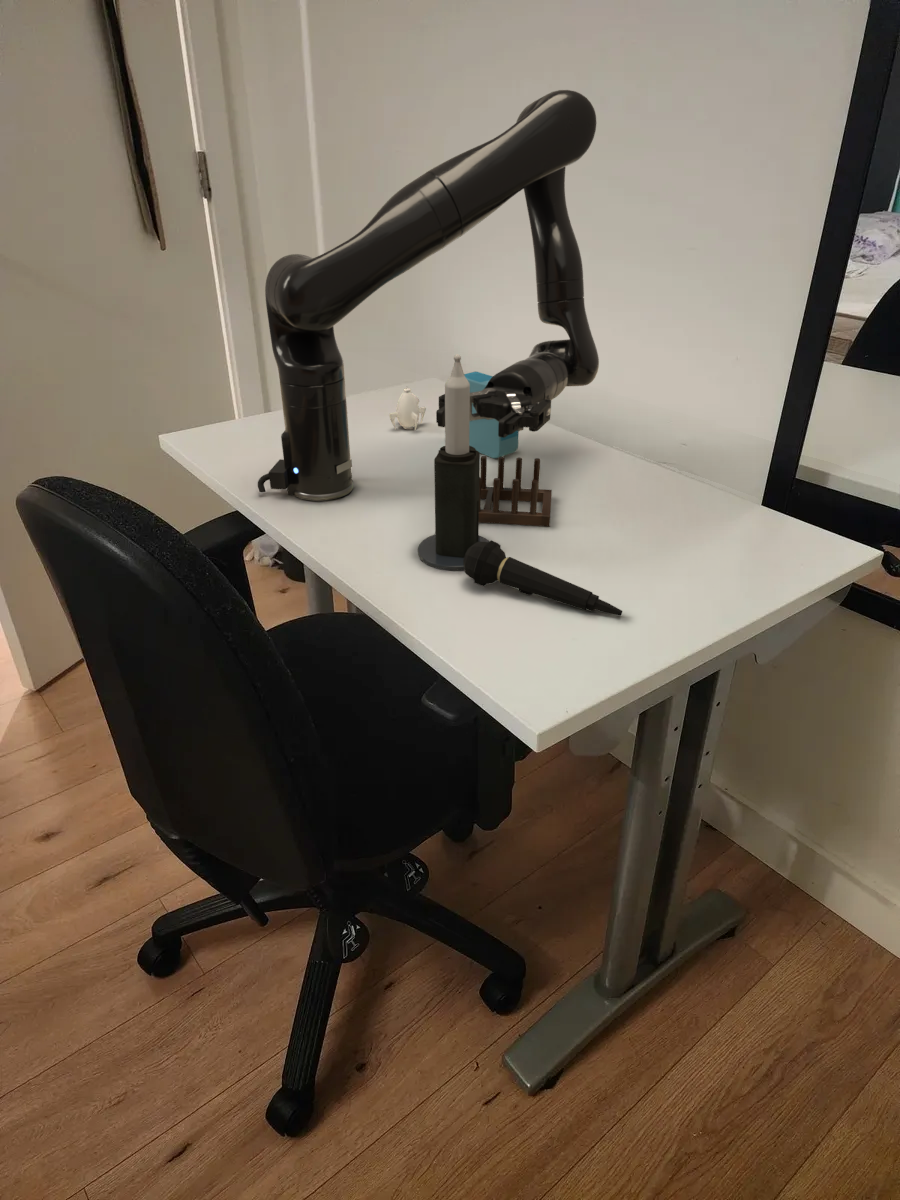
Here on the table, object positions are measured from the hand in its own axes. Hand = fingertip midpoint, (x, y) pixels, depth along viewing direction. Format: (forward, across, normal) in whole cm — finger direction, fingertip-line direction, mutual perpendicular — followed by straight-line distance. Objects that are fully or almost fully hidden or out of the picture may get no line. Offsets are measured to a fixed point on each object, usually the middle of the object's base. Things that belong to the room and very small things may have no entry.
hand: (470, 424), depth 100 cm
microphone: (+10, +14, +16) cm, 24 cm away
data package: (-33, -13, +16) cm, 39 cm away
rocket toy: (-36, -31, +16) cm, 50 cm away
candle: (+4, 0, +16) cm, 16 cm away
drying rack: (-11, 0, +16) cm, 20 cm away
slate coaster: (+4, 0, +16) cm, 17 cm away
